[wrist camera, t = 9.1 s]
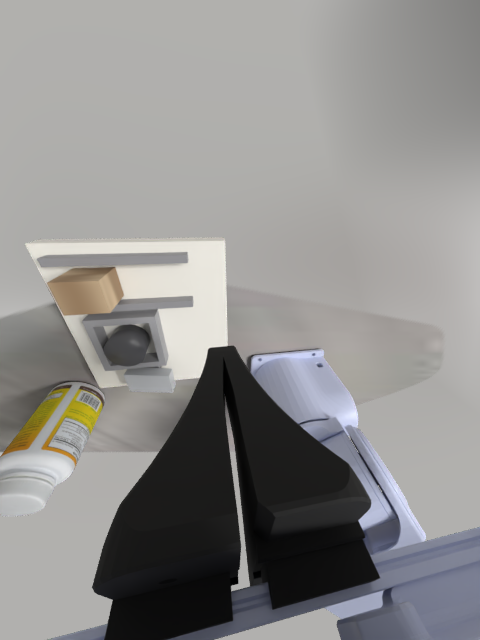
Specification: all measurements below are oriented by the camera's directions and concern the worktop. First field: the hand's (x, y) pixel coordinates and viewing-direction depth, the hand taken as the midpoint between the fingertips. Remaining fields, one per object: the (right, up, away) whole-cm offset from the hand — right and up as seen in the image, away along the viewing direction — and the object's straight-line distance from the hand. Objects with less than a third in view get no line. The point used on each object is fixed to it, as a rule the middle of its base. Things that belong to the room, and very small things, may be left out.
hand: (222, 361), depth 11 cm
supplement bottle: (-18, -7, +14) cm, 24 cm away
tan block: (-10, +5, +5) cm, 13 cm away
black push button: (-9, 0, +8) cm, 12 cm away
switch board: (-7, +2, +10) cm, 12 cm away
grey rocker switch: (-8, -4, +10) cm, 13 cm away
